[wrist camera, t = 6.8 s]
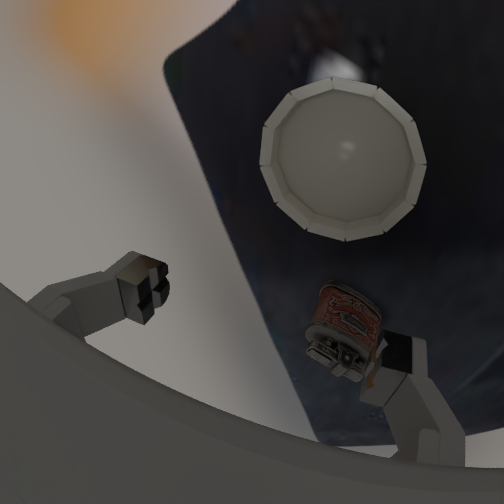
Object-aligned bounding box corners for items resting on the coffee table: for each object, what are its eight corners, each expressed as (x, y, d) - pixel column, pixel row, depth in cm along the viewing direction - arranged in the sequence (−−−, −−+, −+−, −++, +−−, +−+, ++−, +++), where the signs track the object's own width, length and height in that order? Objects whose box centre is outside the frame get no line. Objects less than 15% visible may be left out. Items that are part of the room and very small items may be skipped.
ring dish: (434, 102, 21) (440, 104, 19) (397, 241, 29) (397, 256, 27) (279, 69, 25) (269, 67, 23) (264, 205, 33) (254, 217, 30)
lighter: (387, 311, 33) (381, 380, 25) (369, 328, 35) (358, 395, 27) (331, 274, 34) (310, 338, 26) (315, 293, 36) (290, 357, 28)
